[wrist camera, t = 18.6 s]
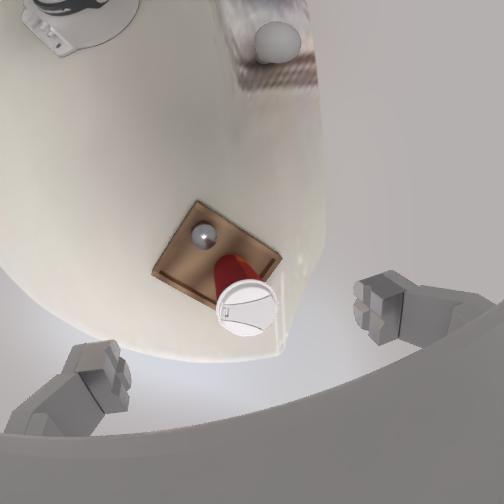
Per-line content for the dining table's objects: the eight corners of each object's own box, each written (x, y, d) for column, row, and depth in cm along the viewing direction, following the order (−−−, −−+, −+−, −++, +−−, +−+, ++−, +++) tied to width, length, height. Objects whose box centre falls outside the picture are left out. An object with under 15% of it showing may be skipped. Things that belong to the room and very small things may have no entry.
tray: (152, 269, 46) (151, 274, 44) (196, 200, 44) (197, 202, 42) (234, 314, 52) (236, 320, 50) (278, 254, 50) (282, 258, 48)
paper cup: (205, 290, 48) (214, 339, 35) (209, 245, 46) (220, 282, 33) (251, 292, 50) (275, 339, 37) (258, 248, 48) (287, 285, 35)
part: (186, 236, 45) (187, 241, 42) (199, 216, 45) (201, 220, 42) (206, 248, 46) (208, 254, 43) (219, 229, 46) (222, 234, 43)
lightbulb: (267, 36, 38) (291, 9, 28) (288, 66, 40) (317, 45, 30) (235, 51, 38) (250, 24, 28) (256, 82, 40) (278, 63, 30)
